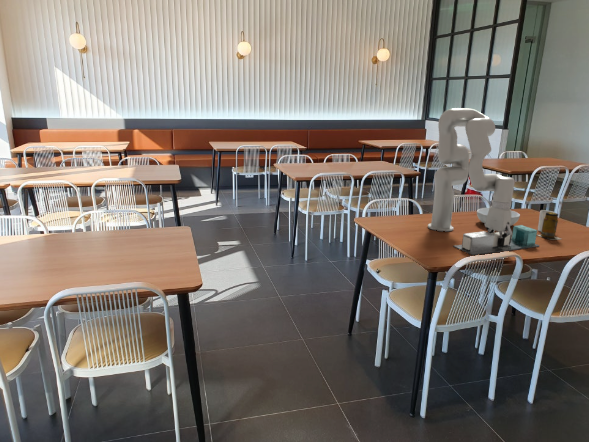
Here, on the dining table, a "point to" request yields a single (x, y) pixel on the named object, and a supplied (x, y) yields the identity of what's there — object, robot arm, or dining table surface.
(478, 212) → the serving bowl
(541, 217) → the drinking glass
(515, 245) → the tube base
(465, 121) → the robot arm
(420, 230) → the dining table surface
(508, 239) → the white rectangular stick
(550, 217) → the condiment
